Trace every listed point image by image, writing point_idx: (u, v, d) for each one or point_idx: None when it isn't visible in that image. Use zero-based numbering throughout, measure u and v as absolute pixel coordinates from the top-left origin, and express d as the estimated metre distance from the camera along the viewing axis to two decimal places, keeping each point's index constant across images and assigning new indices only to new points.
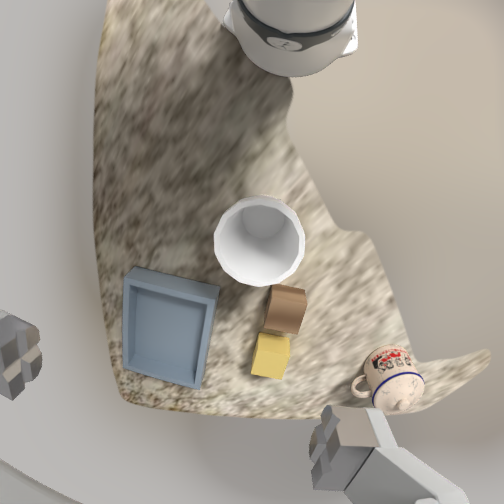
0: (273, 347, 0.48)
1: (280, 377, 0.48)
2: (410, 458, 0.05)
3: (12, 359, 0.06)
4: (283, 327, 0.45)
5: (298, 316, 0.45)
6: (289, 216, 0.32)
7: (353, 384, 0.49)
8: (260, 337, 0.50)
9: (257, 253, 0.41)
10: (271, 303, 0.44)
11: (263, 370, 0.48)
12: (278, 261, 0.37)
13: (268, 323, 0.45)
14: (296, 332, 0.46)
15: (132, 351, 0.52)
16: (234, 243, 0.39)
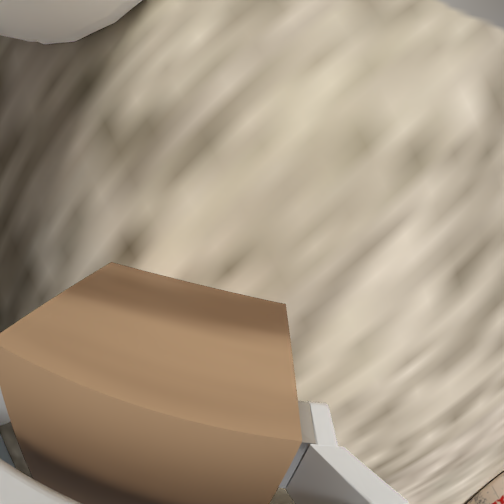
0: None
1: None
2: (350, 459, 0.05)
3: None
4: None
5: None
6: None
7: None
8: None
9: None
10: (5, 386, 0.04)
11: None
12: None
13: None
14: None
15: None
16: None
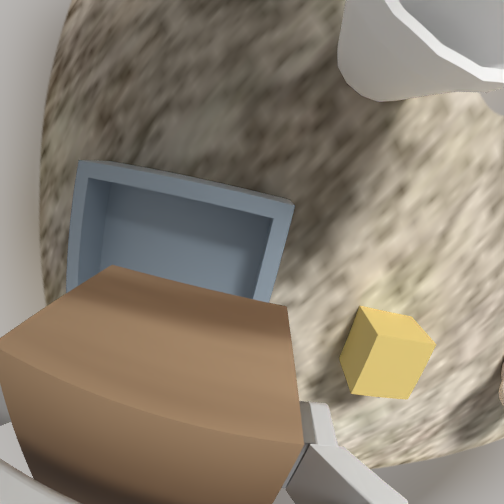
0: (400, 331, 0.21)
1: (407, 395, 0.21)
2: (349, 459, 0.05)
3: None
4: None
5: None
6: None
7: None
8: (368, 314, 0.23)
9: None
10: (7, 389, 0.04)
11: (379, 383, 0.20)
12: None
13: None
14: None
15: None
16: None
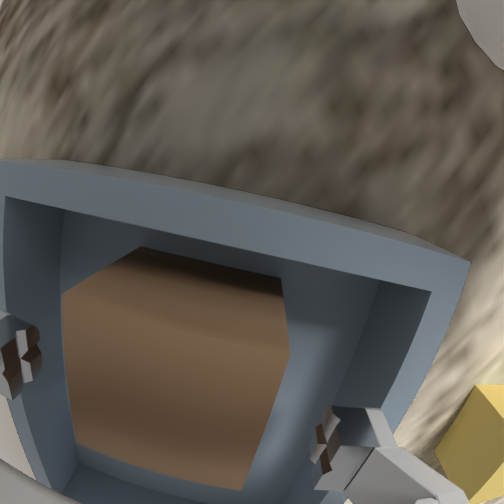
0: None
1: None
2: (410, 458, 0.05)
3: (12, 359, 0.06)
4: (165, 459, 0.07)
5: (239, 420, 0.07)
6: None
7: None
8: (491, 400, 0.12)
9: None
10: (68, 332, 0.06)
11: (496, 488, 0.09)
12: None
13: (88, 431, 0.07)
14: (234, 484, 0.07)
15: (66, 462, 0.13)
16: None
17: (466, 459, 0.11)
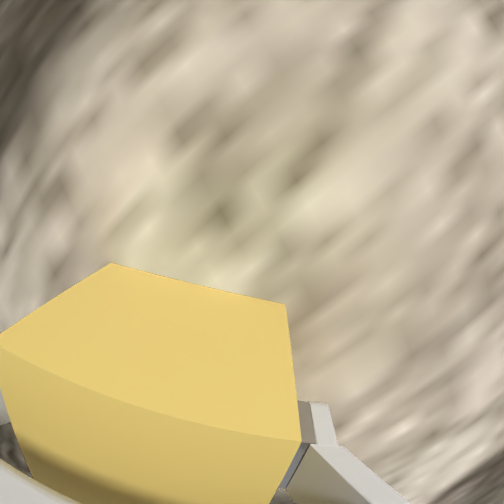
0: (139, 353, 0.05)
1: None
2: (349, 459, 0.05)
3: None
4: None
5: None
6: None
7: None
8: (92, 282, 0.07)
9: None
10: None
11: None
12: None
13: None
14: None
15: None
16: None
17: None
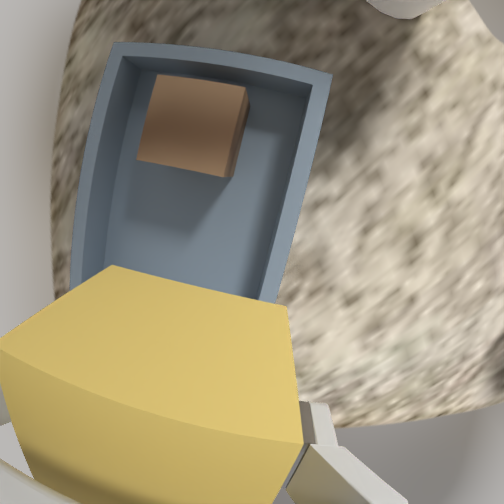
0: (141, 356, 0.05)
1: None
2: (349, 459, 0.05)
3: None
4: (185, 154, 0.16)
5: (224, 120, 0.16)
6: None
7: None
8: (93, 284, 0.07)
9: None
10: (155, 89, 0.16)
11: None
12: None
13: (147, 146, 0.16)
14: (220, 170, 0.17)
15: (96, 260, 0.22)
16: None
17: None
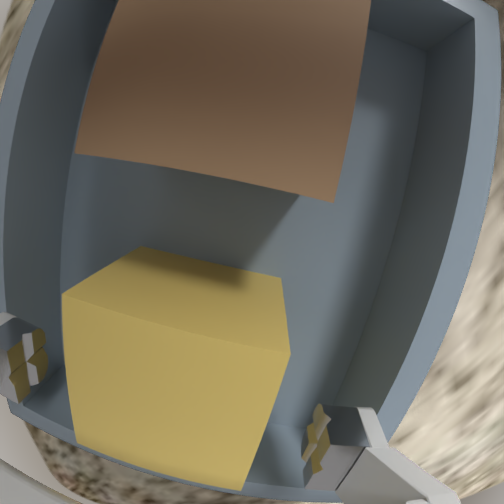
0: (175, 301, 0.07)
1: (234, 482, 0.07)
2: (401, 458, 0.05)
3: (18, 362, 0.06)
4: (216, 131, 0.05)
5: (331, 39, 0.05)
6: None
7: None
8: (130, 258, 0.09)
9: None
10: None
11: (130, 439, 0.07)
12: None
13: (103, 112, 0.05)
14: (324, 183, 0.05)
15: (44, 347, 0.11)
16: None
17: None
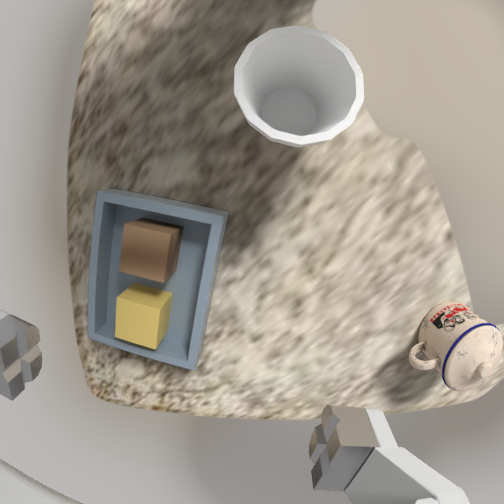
0: (140, 298, 0.33)
1: (153, 345, 0.33)
2: (410, 458, 0.05)
3: (12, 359, 0.06)
4: (144, 270, 0.31)
5: (161, 253, 0.31)
6: (339, 48, 0.19)
7: (412, 353, 0.34)
8: (131, 287, 0.36)
9: None
10: (124, 233, 0.31)
11: (129, 332, 0.33)
12: (321, 130, 0.24)
13: (124, 264, 0.31)
14: (161, 279, 0.31)
15: (102, 314, 0.37)
16: (257, 114, 0.26)
17: None
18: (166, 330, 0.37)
